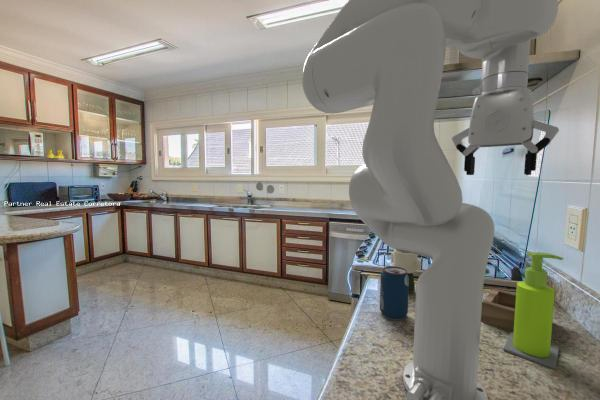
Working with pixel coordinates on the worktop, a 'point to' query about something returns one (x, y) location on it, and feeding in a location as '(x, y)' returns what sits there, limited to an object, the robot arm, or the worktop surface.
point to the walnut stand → (499, 309)
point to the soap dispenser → (534, 309)
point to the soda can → (394, 293)
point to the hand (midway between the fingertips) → (497, 174)
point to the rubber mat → (546, 361)
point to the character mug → (407, 264)
